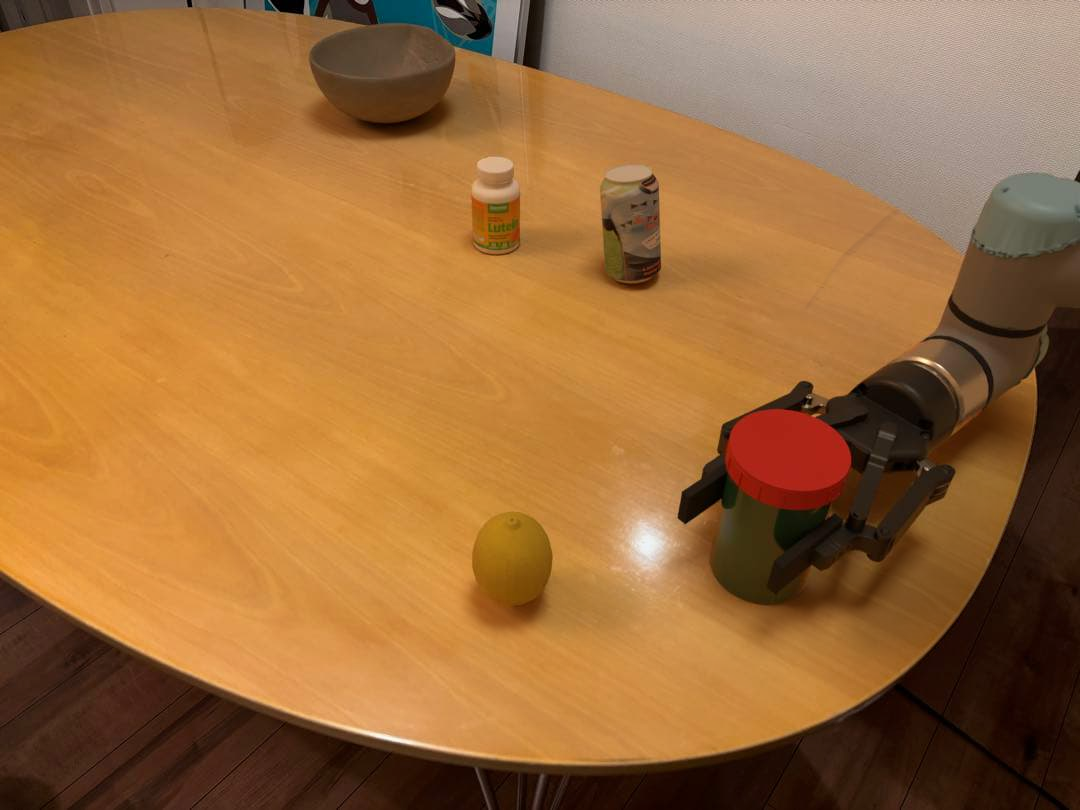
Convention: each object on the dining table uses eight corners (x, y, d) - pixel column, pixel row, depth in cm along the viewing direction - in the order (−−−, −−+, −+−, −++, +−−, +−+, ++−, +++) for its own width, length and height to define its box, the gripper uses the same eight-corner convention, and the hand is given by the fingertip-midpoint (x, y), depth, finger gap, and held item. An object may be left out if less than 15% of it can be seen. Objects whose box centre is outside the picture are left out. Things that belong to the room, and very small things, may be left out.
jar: (814, 608, 63) (853, 496, 56) (712, 601, 63) (738, 488, 56) (799, 532, 68) (834, 421, 61) (706, 526, 69) (729, 414, 61)
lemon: (565, 587, 64) (569, 511, 59) (522, 641, 61) (523, 565, 55) (503, 554, 66) (501, 478, 61) (458, 604, 63) (452, 528, 58)
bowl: (289, 118, 128) (277, 47, 122) (393, 80, 140) (387, 13, 134) (383, 157, 118) (375, 83, 112) (487, 113, 130) (485, 43, 124)
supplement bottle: (486, 260, 99) (484, 179, 92) (464, 239, 102) (461, 159, 96) (528, 248, 101) (529, 168, 95) (505, 227, 104) (504, 149, 98)
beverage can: (644, 297, 93) (655, 193, 86) (583, 277, 96) (589, 174, 89) (669, 270, 98) (682, 169, 90) (610, 252, 100) (618, 152, 93)
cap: (855, 514, 56) (862, 495, 55) (730, 506, 57) (734, 486, 55) (834, 432, 62) (840, 412, 61) (720, 424, 63) (724, 405, 61)
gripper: (1018, 505, 67) (840, 674, 56) (802, 378, 79) (618, 496, 68) (1056, 432, 63) (871, 601, 51) (820, 308, 74) (626, 423, 63)
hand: (727, 541), depth 59 cm, fingers closed on jar, 7 cm apart
